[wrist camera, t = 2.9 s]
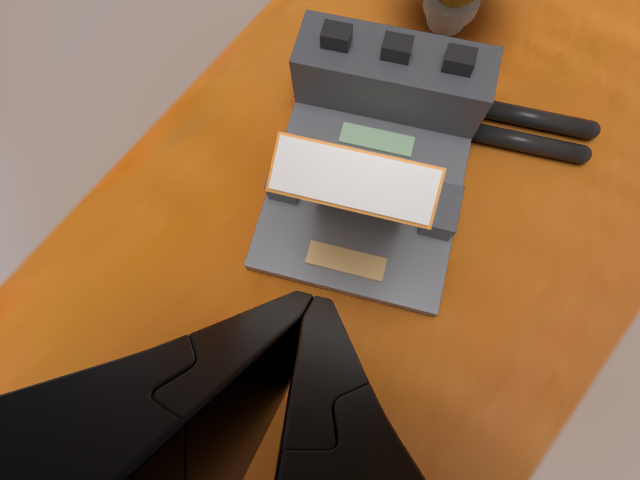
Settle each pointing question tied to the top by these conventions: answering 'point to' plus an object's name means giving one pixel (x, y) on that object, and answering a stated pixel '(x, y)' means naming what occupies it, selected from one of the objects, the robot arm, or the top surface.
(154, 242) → the top surface
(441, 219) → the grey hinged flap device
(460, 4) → the light bulb
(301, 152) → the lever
